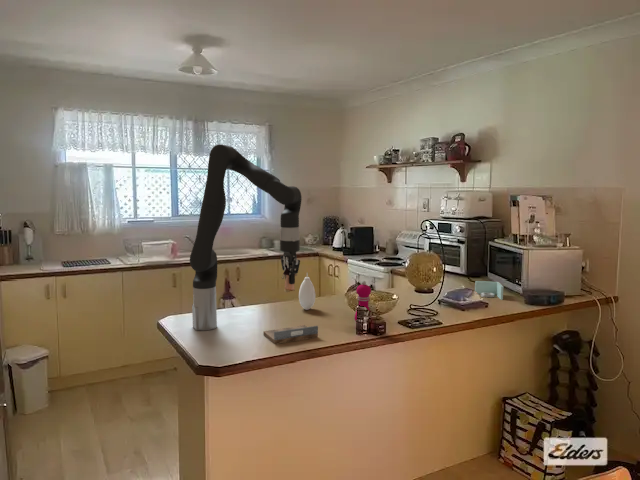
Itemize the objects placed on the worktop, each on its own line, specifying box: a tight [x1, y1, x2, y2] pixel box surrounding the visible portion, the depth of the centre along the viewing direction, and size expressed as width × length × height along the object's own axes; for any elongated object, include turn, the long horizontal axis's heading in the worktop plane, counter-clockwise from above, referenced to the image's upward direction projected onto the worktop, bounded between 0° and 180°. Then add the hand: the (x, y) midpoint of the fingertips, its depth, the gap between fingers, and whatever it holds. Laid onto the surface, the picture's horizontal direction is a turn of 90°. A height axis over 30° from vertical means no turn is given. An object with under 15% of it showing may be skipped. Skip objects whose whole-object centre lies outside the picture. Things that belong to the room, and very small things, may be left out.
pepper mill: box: [354, 280, 372, 322], centre depth 200 cm, size 7×7×20 cm
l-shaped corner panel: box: [474, 280, 504, 301], centre depth 257 cm, size 12×12×8 cm
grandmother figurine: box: [281, 261, 298, 293], centre depth 187 cm, size 8×4×13 cm, turn 149°
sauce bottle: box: [298, 272, 316, 311], centre depth 229 cm, size 8×8×18 cm
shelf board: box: [262, 324, 319, 345], centre depth 190 cm, size 18×12×2 cm, turn 117°
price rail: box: [274, 325, 319, 340], centre depth 185 cm, size 18×1×3 cm, turn 117°
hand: (290, 282), depth 188 cm, fingers closed on grandmother figurine, 3 cm apart
